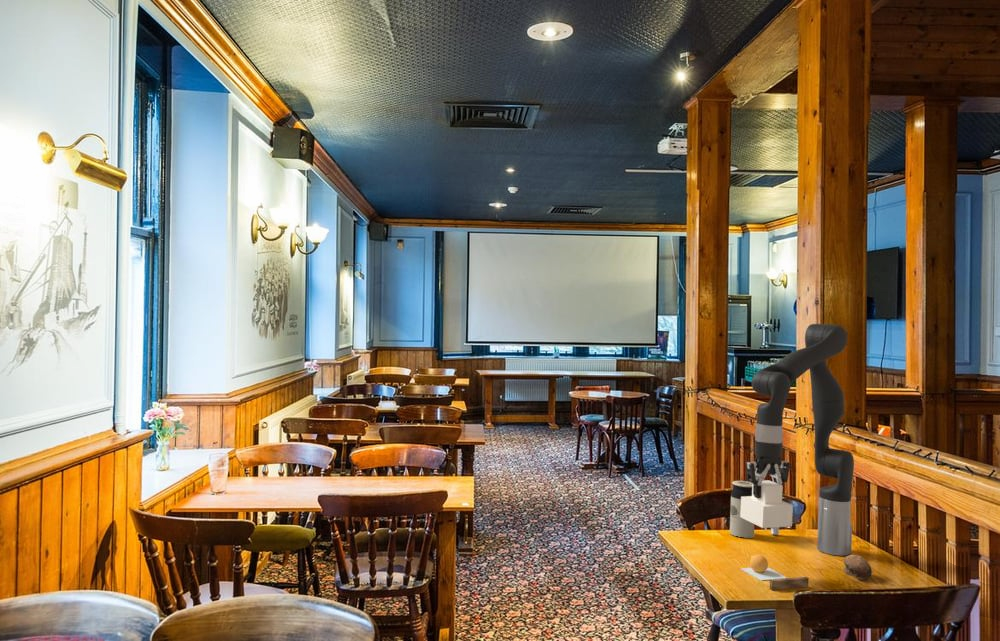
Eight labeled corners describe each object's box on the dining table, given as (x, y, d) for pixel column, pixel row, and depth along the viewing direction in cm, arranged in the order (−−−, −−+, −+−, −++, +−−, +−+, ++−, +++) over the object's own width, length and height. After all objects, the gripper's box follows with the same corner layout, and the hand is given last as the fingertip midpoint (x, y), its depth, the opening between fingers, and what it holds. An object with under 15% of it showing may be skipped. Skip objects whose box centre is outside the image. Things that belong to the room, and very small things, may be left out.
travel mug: (748, 531, 232) (750, 480, 233) (757, 539, 224) (759, 486, 225) (726, 531, 232) (728, 480, 232) (734, 538, 224) (736, 485, 224)
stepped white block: (768, 515, 198) (770, 478, 198) (791, 526, 189) (793, 487, 189) (740, 517, 196) (742, 479, 195) (762, 528, 186) (764, 488, 186)
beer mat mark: (766, 567, 197) (766, 566, 197) (787, 578, 189) (787, 577, 189) (740, 569, 195) (740, 568, 195) (760, 580, 186) (760, 580, 186)
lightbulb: (786, 538, 226) (787, 506, 226) (766, 536, 227) (768, 505, 227) (782, 533, 232) (783, 502, 232) (763, 531, 234) (764, 500, 234)
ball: (773, 570, 190) (763, 574, 194) (769, 552, 193) (759, 556, 197) (757, 570, 189) (748, 574, 193) (753, 552, 192) (744, 556, 196)
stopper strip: (805, 585, 184) (805, 576, 184) (808, 587, 183) (808, 578, 183) (769, 588, 181) (769, 579, 181) (772, 590, 180) (772, 581, 180)
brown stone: (833, 558, 198) (847, 546, 195) (856, 569, 198) (870, 556, 195) (842, 580, 191) (856, 567, 188) (865, 591, 191) (880, 578, 188)
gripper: (780, 437, 198) (778, 493, 198) (739, 437, 194) (737, 494, 194) (798, 441, 191) (796, 499, 190) (756, 442, 187) (754, 501, 186)
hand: (766, 497), depth 192 cm, fingers closed on stepped white block, 5 cm apart
